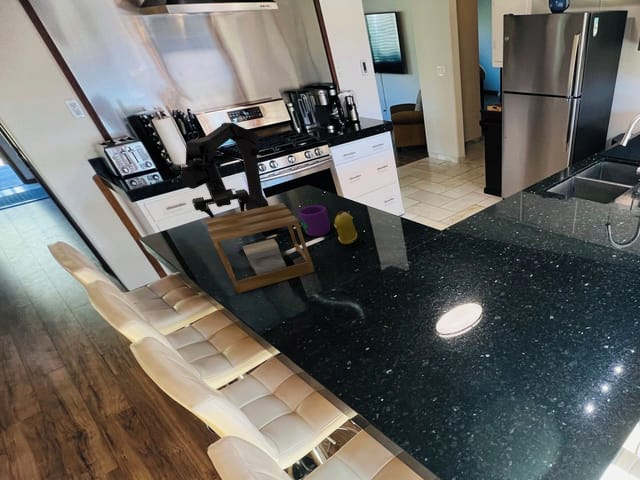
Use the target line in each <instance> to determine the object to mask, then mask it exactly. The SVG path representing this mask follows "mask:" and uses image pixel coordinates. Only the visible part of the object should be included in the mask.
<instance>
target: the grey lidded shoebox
mask: <svg viewBox="0 0 640 480" xmlns="http://www.w3.org/2000/svg"><path fill="white" fill-rule="evenodd" d="M241 247H242V249H243V251H244V254H245V255H246V258H247V260H248V262H249V264H250V267H251V269H252V271H253V273H254V276H256V275H260V274H263V273H267V272H271V271H274V270H278V269H282V268H285V267H288V266H287V263H286V262H285V260H284V258H283V255H282V253H281V250H280V247H279V244H278V242H276V240H275V238H271V239H267V240H262V241H258V242H254V243H250V244H245V245H242V246H241Z"/></svg>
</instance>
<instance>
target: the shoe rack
mask: <svg viewBox="0 0 640 480" xmlns="http://www.w3.org/2000/svg"><path fill="white" fill-rule="evenodd" d="M204 222H205V224H206V226H207V230H208V233H209V236H210V239H211V241H212V244H213V246H214V247H215V250H216V252H217V254H218V256H219V258H220V260H221V262H222V264H223V266H224V268H225V269H226V273H227V274H228V277H229V278H230V280H231V282H232V284H233V287H234V289H235V290H236V293H237V294H241V293H245V292H248V291H252V290H255V289H259V288H263V287H265V286H270V285H273V284H277V283H279V282H283V281H287V280H290V279H293V278H297V277H300V276H304V275H308V274H310V273H315V271H316V270H315V268H314V265H313V262H312V259H311V256H310V253H309V250H308V247H307V244H306V241H305V238H304V235H303V232H302V229H301V226H300V224H299V221H298V219H297V218H296V217H295V215H293V213H292V212H291V210H290V209H288V207H287V205H286V204H285V203H284V202H281V203H275V204H272V205H271V204H270V205H269V206H266V207H261V208H257V209H252V210H247V209H246V210H244V211H242V212H241V211H238V212H234V213H228V214H224V215H220V216H215V217H214V218H211V217H210V218H205V219H204ZM293 226H294V228H295V229H296V233H297V235H298V238H299V241H300V244H301V246H300V245H299V244H298V241H297V238H296V235H295V233H294V229H293ZM284 227H287V229H288V231H289V234H290V237H291V240H292V243H293V246H294V249H295V251H296V252H298V253H299V255H300V256H301V257H302V259H303V262H300V263H296V264H293V265H290V266H287V267H285V268H282V269H278V270H274V271H271V272H267V273H263V274H260V275H253V276H248V277H246V278H242V279H238V280H237V278H236V275H235V273H234V269H233V267H232V265H231V263H230V260H229V258H228V256H227V254H226V252H225V249H224V248H223V245H222V244H221V242H225V241H228V240H233V239H236V238H241V237H245V236H251V235H254V234H258V233H261V232H263V231H267V230H272V229H276V228H278V229H280V228H284ZM301 247H302V248H301ZM311 269H313V270H311Z"/></svg>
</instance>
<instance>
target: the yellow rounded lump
mask: <svg viewBox="0 0 640 480" xmlns="http://www.w3.org/2000/svg"><path fill="white" fill-rule="evenodd" d="M353 219H354V217H353V216H352V215H351V214H350V213H348V212H346V211H343V210H340V211H338V213H337V214H336V217H335V218H334V224H333V226H334V227H335V229H336V232H337V234H338V242H339V243H340V244H341V245H351V244H352V243H354V242H355V241H357V239H358V237H359V236H358V231H356V230H357V229H356V227H355V224H354V222H353ZM353 240H354V241H353Z"/></svg>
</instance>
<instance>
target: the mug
mask: <svg viewBox="0 0 640 480" xmlns="http://www.w3.org/2000/svg"><path fill="white" fill-rule="evenodd" d="M297 214H298V218H299V220H300V222H301V223H300V224H301V225H302V228H303V230H304V232H305V233H306V235H307V236H309V237H321V236H324V235H327V234H328V233H329V232H330V231H331V223H330V218H329V214H328V210H327V208H326V207H325V206H323V205H318V204H317V205H316V204H315V205H308V206H303V207H301V209H299V210H298V212H297Z"/></svg>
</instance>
